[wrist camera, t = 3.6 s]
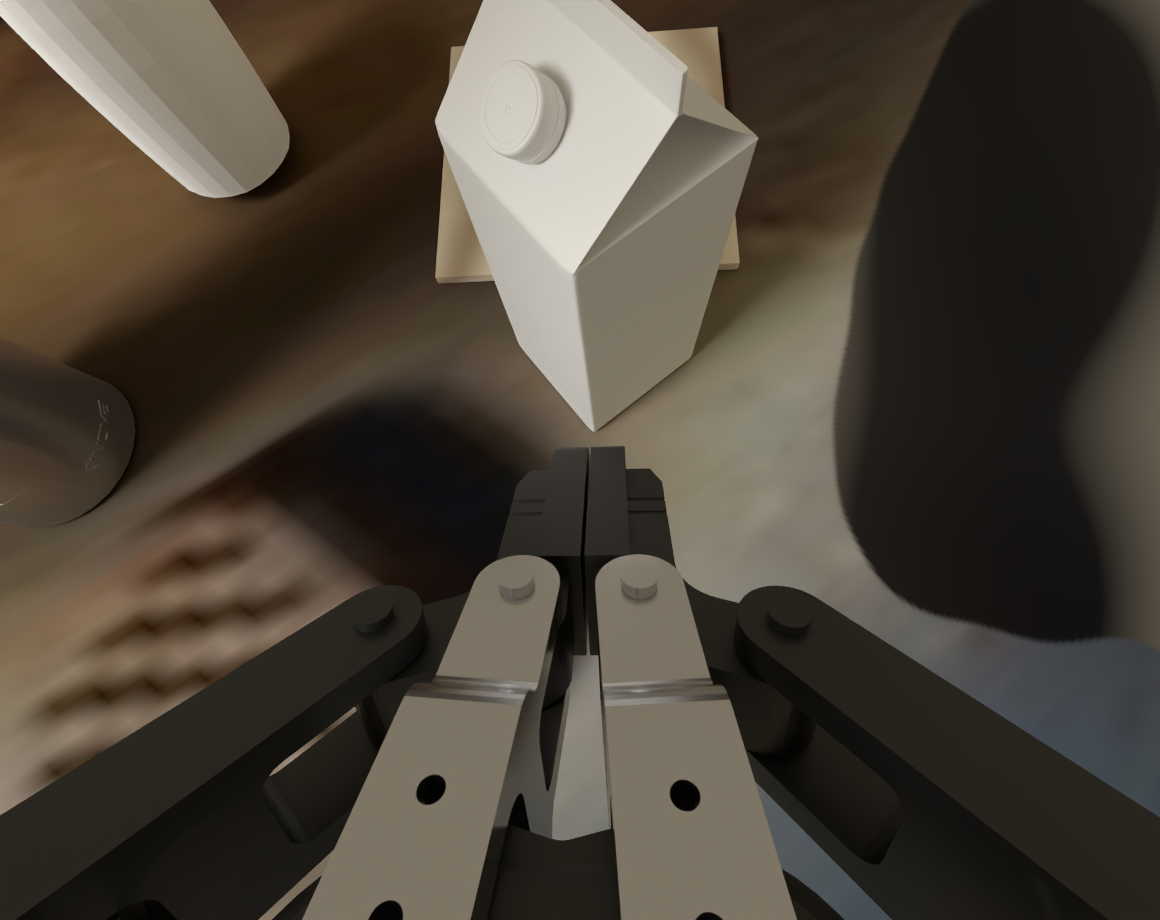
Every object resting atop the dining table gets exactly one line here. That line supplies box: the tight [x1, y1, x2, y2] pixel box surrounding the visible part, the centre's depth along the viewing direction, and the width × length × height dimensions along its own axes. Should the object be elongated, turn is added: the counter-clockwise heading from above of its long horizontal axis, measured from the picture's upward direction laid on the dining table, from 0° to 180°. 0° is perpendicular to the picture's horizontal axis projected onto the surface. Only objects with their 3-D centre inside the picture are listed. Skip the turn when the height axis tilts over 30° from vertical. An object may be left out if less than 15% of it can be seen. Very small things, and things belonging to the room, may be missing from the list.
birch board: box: [435, 27, 740, 283], centre depth 34 cm, size 18×18×1 cm
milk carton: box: [435, 0, 759, 432], centre depth 21 cm, size 7×7×19 cm
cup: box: [0, 0, 290, 198], centre depth 29 cm, size 8×8×14 cm
